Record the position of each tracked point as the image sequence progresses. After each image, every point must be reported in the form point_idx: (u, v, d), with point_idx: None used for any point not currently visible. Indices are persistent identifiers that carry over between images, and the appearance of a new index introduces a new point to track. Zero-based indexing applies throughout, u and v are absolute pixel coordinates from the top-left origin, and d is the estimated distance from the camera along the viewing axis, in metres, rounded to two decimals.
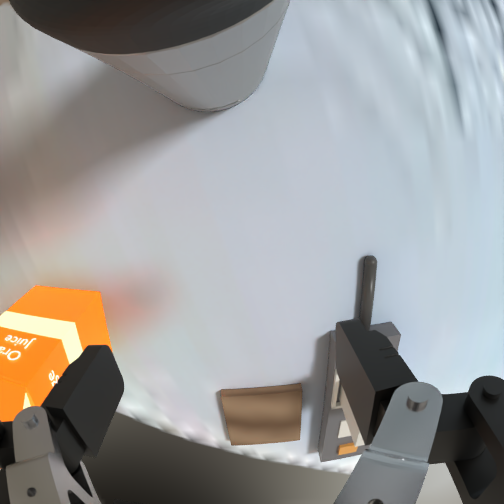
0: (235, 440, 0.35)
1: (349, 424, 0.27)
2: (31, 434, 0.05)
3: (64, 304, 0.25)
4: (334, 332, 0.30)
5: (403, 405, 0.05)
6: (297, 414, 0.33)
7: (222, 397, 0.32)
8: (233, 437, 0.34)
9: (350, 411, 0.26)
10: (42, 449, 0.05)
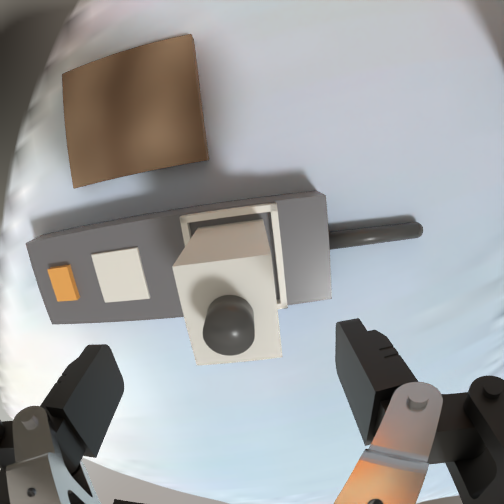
0: (76, 75, 0.17)
1: (196, 246, 0.15)
2: (31, 434, 0.05)
3: None
4: None
5: (403, 405, 0.05)
6: (143, 164, 0.19)
7: (189, 36, 0.16)
8: (83, 71, 0.17)
9: (229, 239, 0.15)
10: (42, 449, 0.05)
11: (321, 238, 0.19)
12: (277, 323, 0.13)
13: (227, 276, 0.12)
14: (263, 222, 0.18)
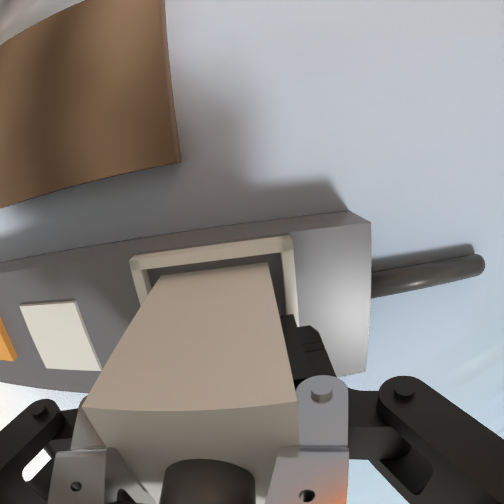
0: (4, 51, 0.09)
1: (141, 336, 0.07)
2: None
3: None
4: None
5: (305, 395, 0.06)
6: (80, 172, 0.11)
7: None
8: (13, 44, 0.09)
9: (206, 321, 0.08)
10: None
11: (359, 290, 0.12)
12: None
13: (197, 435, 0.05)
14: (269, 272, 0.10)
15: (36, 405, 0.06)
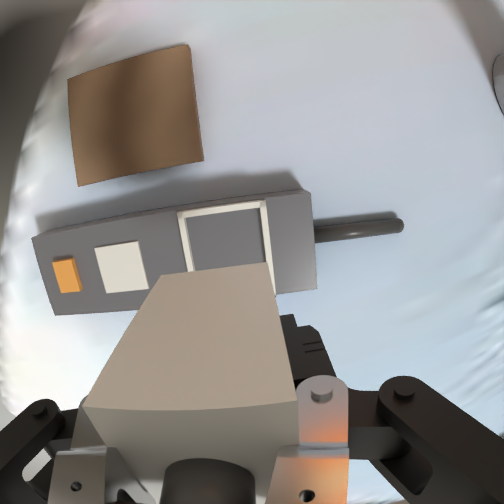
0: (81, 81, 0.18)
1: (142, 336, 0.07)
2: None
3: None
4: None
5: (305, 396, 0.06)
6: (143, 165, 0.21)
7: (186, 46, 0.18)
8: (87, 77, 0.18)
9: (206, 321, 0.08)
10: None
11: (307, 232, 0.21)
12: None
13: (197, 435, 0.05)
14: (269, 272, 0.10)
15: (36, 405, 0.06)
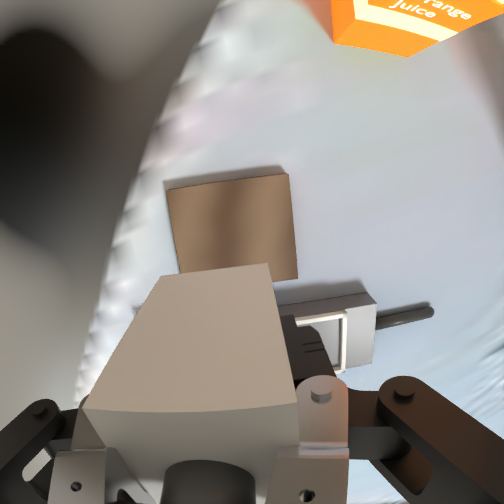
0: (182, 196, 0.25)
1: (142, 337, 0.07)
2: None
3: None
4: None
5: (305, 396, 0.06)
6: None
7: (287, 176, 0.24)
8: (189, 193, 0.25)
9: (206, 322, 0.08)
10: None
11: (370, 329, 0.27)
12: None
13: (197, 437, 0.05)
14: (269, 273, 0.10)
15: (36, 405, 0.06)
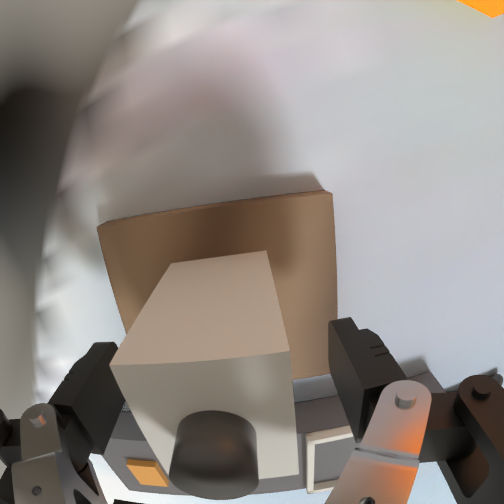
0: (125, 236, 0.12)
1: (158, 310, 0.09)
2: (39, 431, 0.05)
3: None
4: None
5: (391, 403, 0.06)
6: None
7: (329, 197, 0.12)
8: (137, 231, 0.12)
9: (214, 297, 0.09)
10: (51, 446, 0.05)
11: None
12: (294, 441, 0.07)
13: (207, 385, 0.06)
14: (267, 258, 0.12)
15: None
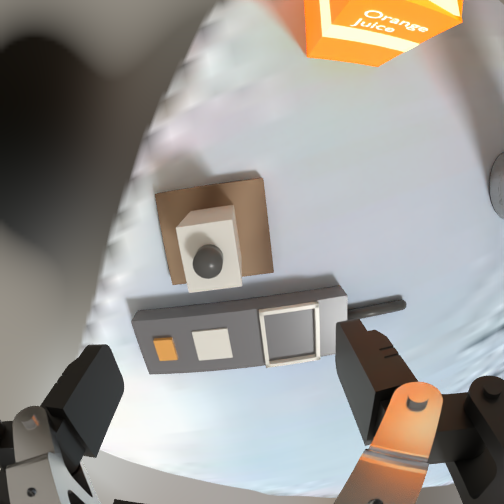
0: (169, 199, 0.28)
1: (189, 219, 0.24)
2: (31, 434, 0.05)
3: None
4: None
5: (403, 405, 0.05)
6: None
7: (262, 180, 0.28)
8: (175, 196, 0.28)
9: (210, 215, 0.24)
10: (42, 449, 0.05)
11: (342, 319, 0.31)
12: (237, 262, 0.22)
13: (207, 233, 0.22)
14: (233, 206, 0.27)
15: None
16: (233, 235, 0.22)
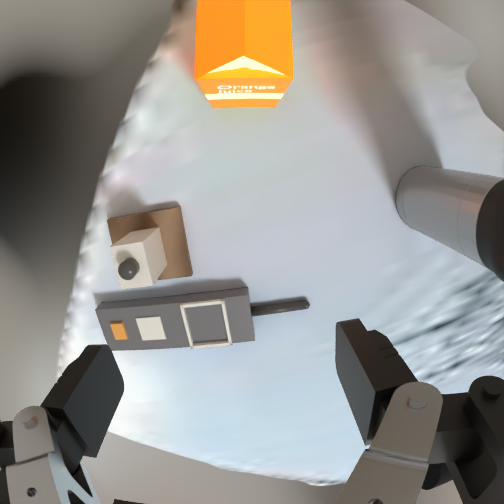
0: (116, 223, 0.38)
1: (122, 239, 0.34)
2: (31, 434, 0.05)
3: None
4: None
5: (403, 405, 0.05)
6: (160, 276, 0.40)
7: (178, 209, 0.37)
8: (120, 221, 0.38)
9: (136, 236, 0.34)
10: (42, 449, 0.05)
11: (247, 313, 0.40)
12: (148, 269, 0.32)
13: (128, 250, 0.32)
14: (157, 228, 0.37)
15: None
16: (144, 252, 0.32)
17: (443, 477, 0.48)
